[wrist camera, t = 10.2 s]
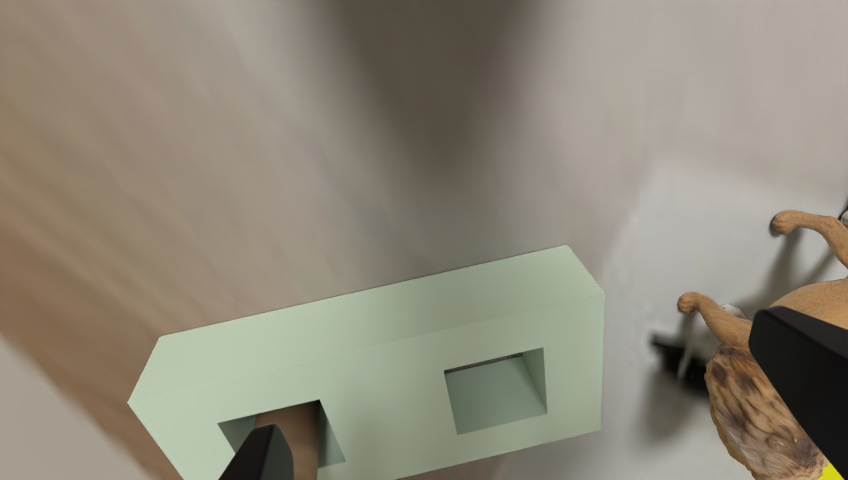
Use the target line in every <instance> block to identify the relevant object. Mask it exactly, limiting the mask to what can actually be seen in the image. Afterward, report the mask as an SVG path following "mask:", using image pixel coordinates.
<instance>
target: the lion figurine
mask: <svg viewBox="0 0 848 480" xmlns="http://www.w3.org/2000/svg"><path fill="white" fill-rule="evenodd" d="M772 226H773V227H774V229H775V230H776V231H778V232H779V233H782V234H787V233H789V232H791V231H792V230H794V229H796V228H799V227H801V228H808V229H812V230H815V231H816V232H818V233H820V234H821V235H822V236H823V237H824V238H825V240H826V241H827V243H828V245H829V246H830V248H831V250H832V251H833V253H834V254H835V256H836V257H837V258H838V260H839V261H840V262H841V263H842V264H843V265H844V266H845V267H846V268H847V269H848V229H847V228H846V227H848V210H847V211H846V212H845V213H844V214H843V215H842V217H841V222H840V221H839V220H838V219H837V218H835V217H831V216H822V215H814V214H809V213H805V212H801V211H796V210H788V211H784V212H781V213H779V214H778V215H776V216H775V218H774V219H773V221H772ZM678 305H679V308H680V309H681V310H682V311H685V312H687V313H691V312H692V311H694V310H696V311H698V312H700V314H701V315H702V317H703V319H704V321H705V322H706V324H707V326H708V327H709V328H710V330H711V331H712V333H713V334H714V335H715V336H716V337H717V338H718V339H719V341H720V342H721V343H722V344H721V346H719V347H718V349H717V351H716V354H715V356H714V358H713V359H711V360H710V361H709V362H708V363H707V364H706V373H705V375H704V378H705V381H706V384H707V388H708V391H709V393H710V395H709V397H710V398H709V402H710V414H711V417H712V420H713V422H714V424H715V425H716V428H717V431H718V434H719V437H720V439H721V440H722V442H723V444H724V445H725V446H726V448H727V450H728V453H729V454H730V456H732V457H733V458H734V459H736V460H737V461H738V462H740V463H741V464H743V465H745V466H746V468H747V469H748V470H749V471H751V473H752V476H753V477H754V478H755V479H756V480H817V479H819V478H820V477H821V476H822V475H823V468H824V467H826V466H828V465H829V461H828V460H827V458H826V457H825V456H824V455H823V454H822V452H821V451H820V450H819V449H818V448H817V446H816V445H815V444H814V443H813V441H812V440H811V439H810V438H809V436H808V435H807V434H806V433H805V431H804V430H803V429H802V428H801V426H800V425H799V423H798V422H797V421H796V419H795V418H794V417H793V415H792V414H791V412H790V411H789V409H788V408H787V406H786V405H785V403H784V402H783V400H782V399H781V397H780V396H779V395H778V393H777V392H776V390H775V389H774V387H773V386H772V384H771V383H770V381H769V380H768V378H767V377H766V375H765V374H764V372H763V371H762V369H761V368H760V367H759V365H758V364H757V362H756V361H755V359H754V358H753V356H752V354H751V353H750V350H749V347H748V338H749V334H750V330H751V326H752V321H751V320H750V319H748V318H747V317H746V316H745V314H744V313H743V312H742V311H741V310H740V309H739V308H738V307H733V306H732V305H728V304H725V305H721V306H719V305H718V304H717V303H716V302H715V301H714V300H713V299H711V298H709V297H707V296H705V295H702V294H700V293H696V292H691V293H686V294H684V295H682V296H681V297H680V299H679V301H678ZM776 305H781V306H785V307H788V308H791V309H794V310H796V311H799V312H802V313H804V314H807V315H810V316H812V317H815V318H818V319H820V320H823V321H826V322H828V323H831V324H834V325H837V326H839V327H842V328H845V329H847V330H848V276H847V277H846V278H844V279H839V280H832V281H825V282H818V283H813V284H810V285H806V286H803V287H800V288H798V289H796V290H794V291H792V292H790V293H788V294H786V295H785V296H783V297H781V298H780V299H778V300H777V301H776V302H774V303H773V304H772V305H770V306H769V307H771V306H776Z"/></svg>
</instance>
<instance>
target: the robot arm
mask: <svg viewBox="0 0 848 480" xmlns="http://www.w3.org/2000/svg"><path fill="white" fill-rule="evenodd" d="M748 347H749V350H750V353H751V354H752V356H753V358H754V359H755V361H756V362H757V364H758V365H759V367H760V368H761V369H762V371H763V372H764V374H765V375H766V377H767V378H768V380H769V381H770V383H771V384H772V386H773V387H774V389H775V390H776V392H777V393H778V395H779V396H780V397H781V399H782V400H783V402H784V403H785V405H786V406H787V408H788V409H789V411H790V412H791V414H792V415H793V417H794V418H795V419H796V421H797V422H798V423H799V425H800V426H801V428H802V429H803V430H804V431H805V433H806V434H807V435H808V436H809V438H810V439H811V440H812V441H813V443H814V444H815V445H816V446H817V448H818V449H819V450H820V451H821V452H822V454H823V455H824V456H825V457H826V458H827V460H828V461H829V462H830V463H831V464H832V466H833V467H834V468H835V469H836V471H837V472H838V473H839V474H840V475H841V477H842V478H843V479H844V480H848V330H847V329H845V328H842V327H839V326H837V325H834V324H831V323H828V322H826V321H823V320H820V319H818V318H815V317H812V316H810V315H807V314H804V313H802V312H799V311H796V310H794V309H791V308H788V307H785V306H781V305H776V306H771V307H767V308H763V309H760V310H758V311H757V312H756V313H755V314H754V317H753V322H752V326H751V330H750V334H749V338H748ZM218 480H294V461H293V454H292V451H291V448H290V446H289V444H288V443H287V441H286V439H285V437H284V435H283V433H282V431H281V429H280V427H279V426H278V425H277V424H276V423H270V424H266V425H262V426H258V427H255V428H253V429H252V430H251V431H250V433H249V434H248V436H247V437H246V439H245V440H244V442H243V443H242V445H241V446H240V448H239V449H238V451H237V452H236V454H235V455H234V457H233V458H232V460H231V461H230V463H229V464H228V466H227V467H226V469H225V470H224V472H223V473H222V475H221V476H220V478H219V479H218Z"/></svg>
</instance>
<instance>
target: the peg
mask: <svg viewBox="0 0 848 480" xmlns="http://www.w3.org/2000/svg"><path fill="white" fill-rule="evenodd" d="M320 414H321V401H320V399H318V400H314V401H310V402H306V403H301V404H297V405H293V406H288V407H284V408H280V409H275V410H271V411H267V412H263V413H258V414H256V419H255V424H254V428H255V427H258V426H262V425H266V424H270V423H276V424H277V425H278V426H279V427H280V429H281V431H282V433H283V435H284V437H285V439H286V441H287V443H288V444H289V446H290V448H291V451H292V454H293V461H294V480H317V469H318V451H319V433H320Z"/></svg>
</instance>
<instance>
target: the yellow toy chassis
mask: <svg viewBox="0 0 848 480" xmlns="http://www.w3.org/2000/svg"><path fill="white" fill-rule="evenodd" d="M817 480H844V479H843V478H842V477H841V475H840V474H839V473H838V472H837V471H836V469H835V468H834V467H833V466H832V464H831V463H830V462H829V465H828V466H826V467H824V468H823V475H822V476H821V477H820V478H819V479H817Z"/></svg>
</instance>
